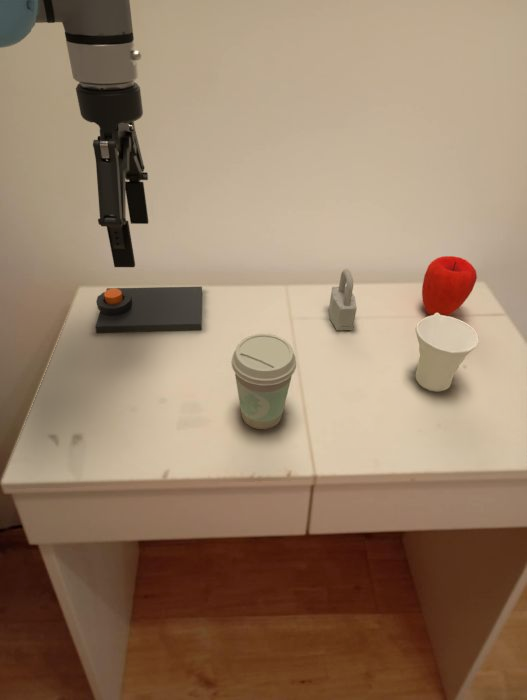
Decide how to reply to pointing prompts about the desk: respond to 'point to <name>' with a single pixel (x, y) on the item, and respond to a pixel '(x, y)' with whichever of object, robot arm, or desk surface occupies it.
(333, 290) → the padlock
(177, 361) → the desk surface
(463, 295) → the apple
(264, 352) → the coffee cup
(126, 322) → the scale
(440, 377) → the cup
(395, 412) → the desk surface
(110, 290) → the button
